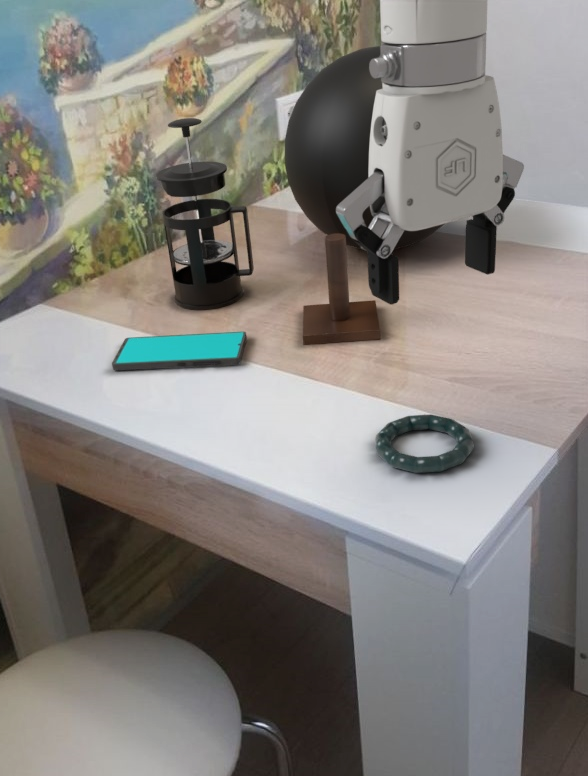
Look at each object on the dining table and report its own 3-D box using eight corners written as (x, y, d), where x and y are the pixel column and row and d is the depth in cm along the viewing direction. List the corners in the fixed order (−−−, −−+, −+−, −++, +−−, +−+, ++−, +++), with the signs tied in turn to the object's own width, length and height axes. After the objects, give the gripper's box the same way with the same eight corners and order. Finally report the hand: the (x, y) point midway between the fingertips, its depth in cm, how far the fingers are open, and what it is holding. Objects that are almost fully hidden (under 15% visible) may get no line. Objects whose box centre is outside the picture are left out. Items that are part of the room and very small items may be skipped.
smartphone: (125, 337, 108) (246, 331, 106) (126, 343, 108) (247, 337, 106) (110, 364, 102) (238, 358, 100) (112, 371, 102) (239, 365, 100)
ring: (465, 422, 85) (465, 409, 84) (479, 472, 77) (479, 459, 77) (373, 427, 86) (372, 415, 85) (379, 478, 78) (378, 464, 77)
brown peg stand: (375, 309, 110) (372, 221, 104) (380, 339, 103) (376, 246, 97) (304, 314, 111) (296, 227, 105) (303, 344, 103) (295, 253, 98)
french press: (163, 311, 116) (132, 131, 104) (177, 285, 124) (150, 115, 112) (251, 307, 115) (229, 124, 103) (259, 281, 122) (241, 107, 110)
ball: (475, 212, 138) (479, 24, 124) (479, 276, 116) (485, 55, 102) (306, 220, 144) (291, 40, 130) (279, 282, 121) (258, 73, 107)
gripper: (361, 90, 59) (371, 326, 68) (560, 49, 65) (544, 271, 74) (306, 79, 65) (321, 297, 73) (492, 42, 71) (486, 248, 80)
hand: (433, 284), depth 74 cm, fingers open, 9 cm apart
